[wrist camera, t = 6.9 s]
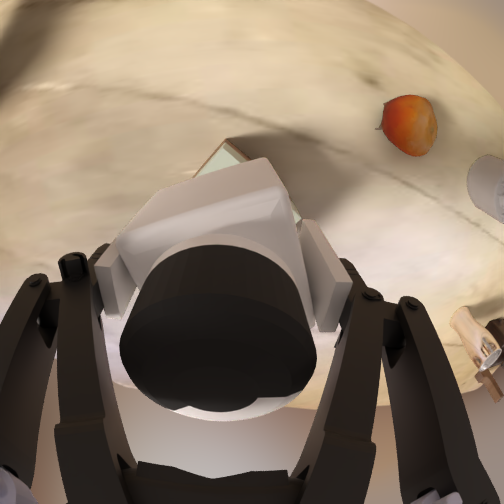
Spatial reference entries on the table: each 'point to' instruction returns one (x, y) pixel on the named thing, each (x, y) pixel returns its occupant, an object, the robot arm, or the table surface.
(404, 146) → the fruit
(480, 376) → the wooden block
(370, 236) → the table surface
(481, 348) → the beer glass
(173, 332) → the medicine bottle
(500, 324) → the coffee grinder
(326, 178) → the table surface
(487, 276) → the table surface
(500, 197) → the lumpy-topped squat cylinder
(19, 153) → the table surface
